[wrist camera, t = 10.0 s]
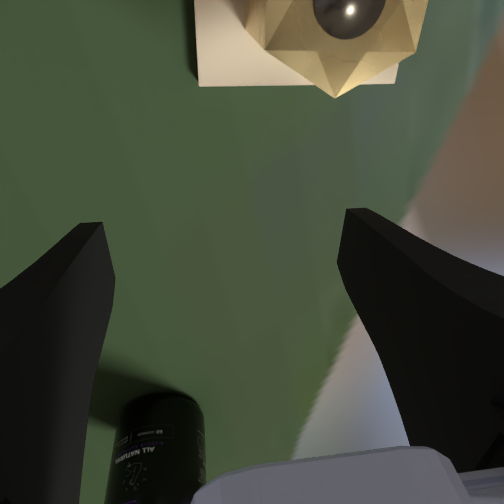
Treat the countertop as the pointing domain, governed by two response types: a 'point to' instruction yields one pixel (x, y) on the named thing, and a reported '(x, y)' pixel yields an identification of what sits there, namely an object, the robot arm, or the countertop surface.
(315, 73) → the brass nut
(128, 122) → the countertop surface
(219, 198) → the countertop surface
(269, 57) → the oak pad
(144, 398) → the supplement bottle
